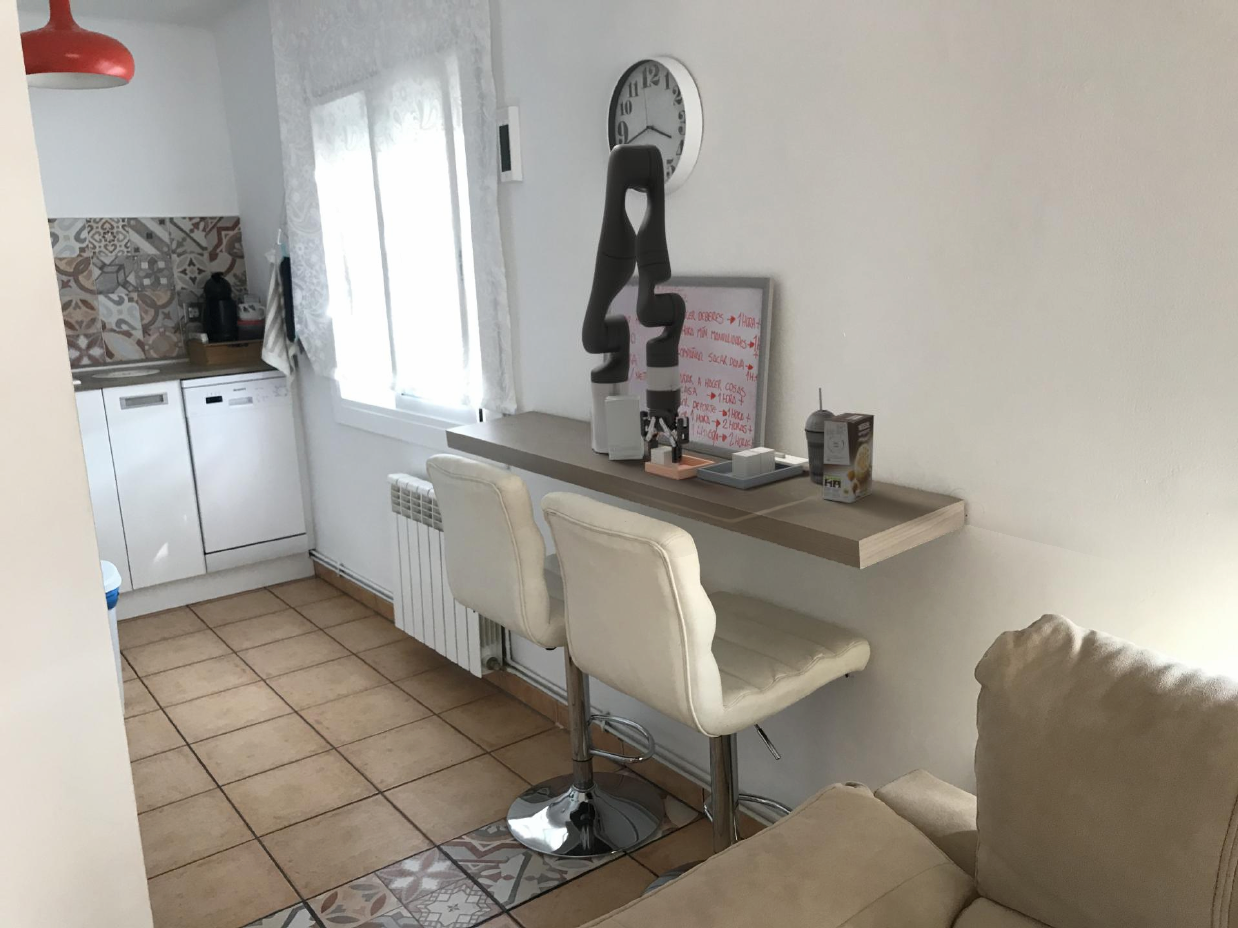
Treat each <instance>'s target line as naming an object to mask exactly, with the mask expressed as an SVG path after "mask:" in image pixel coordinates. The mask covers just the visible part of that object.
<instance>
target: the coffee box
mask: <svg viewBox="0 0 1238 928" xmlns="http://www.w3.org/2000/svg"><path fill="white" fill-rule="evenodd" d="M874 419H875V415H874V414H866V413H856V412H855V413H852V412H844V413H840V414H837V415H835V416H834V417H831V418H827V419H824V421H825V424H824V472H823V473H824V475H823V484H822V499H823V500H829V501H830V500H831V501H835V502H842V503H847V504H851V503H854V502H856V501H858V500H861V499H863V498H865V497H866V496H868V495H870V494H872V492H873V490H872V488H873V458H874V454H873V453H874V422H875V420H874Z"/></svg>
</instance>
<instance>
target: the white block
mask: <svg viewBox="0 0 1238 928" xmlns="http://www.w3.org/2000/svg"><path fill="white" fill-rule="evenodd" d="M671 447H672V446H667V445H664V446H658V448H654V449H651V457H650V462H651V463H652V464H656V465H660V466H664V467H668V468H672V469H676V470H678V463H672V448H671Z"/></svg>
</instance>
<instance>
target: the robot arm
mask: <svg viewBox="0 0 1238 928" xmlns="http://www.w3.org/2000/svg"><path fill="white" fill-rule="evenodd" d="M663 160H664V159H663V157H662V153H661V150H660V149H659V147H657V146H656V145H654V144H649V143H625V144H624V143H622V144H620V143H619V144H617V145H615V146H614V147H613V148H612V150H611V151H610V154H609V157H608V163H607V172H606V183H605V184H606V185H605V195H604V197H605V198H604V199H605V200H604V208H603V209H604V210H603V216H602V222H601V228H600V235H599V240H598V245H597V250H596V256H595V257H596V258H595V264H594V271H593V272H594V273H593V278H592V279H593V280H592V285H591V291H590V295H589V299H588V303H587V307H586V310H585V314H584V319H583V323H582V328H581V342H582V346H583V347H582V348H583V349H584V350H585V352H586V353H588V354H591V355H603V354H609V356H608V358H607V359H606V360H605V361H604V362H603V363H601V364H599V365H598V366H596V367H594V368H592V369H591V371H590V389H591V390H590V391H591V411H590V412H589V413H590V437H591V449H593V451H594V452H596V453H601V454H609V447H608V435H607V422H606V410H605V400H606V398H607V396H620V395H630V381H629V380H630V379H629V373H630V365H631V364H630V362H631V360H630V359H631V352H630V351H631V350H630V349H631V331H630V325H629V321H628V319H627V317H626V316H625V315H624V314H621V313H610V314H607V313H608V310H609V308H610V306H611V304H612V303H613V301H614V300H615V298H616V297H617V296H618V294H619V293H620V292H621V291H622V290H623V288H625V286H626V285H627V284H628V283H629V281H630V280H631V278H632V277H633V275H634V274H635V270H636V267H637V271H638V272H637V274H638V290H637V297H636V305H635V307H636V308H635V310H636V311H635V312H636V313H635V314H636V318H637V321H638V322H639V323H640V324H641V325H642V326H643V327H645V328H650V329H651V328H660V327H663V331H662V333H661V334H660V335H657V336H656V337H652V338H650V339H648V340H647V342H646V343H645V359H646V360H645V361H646V362H645V364H646V365H645V367H646V369H645V370H646V371H645V393H646V396H645V397H646V398H645V399H646V400H645V401H646V402H645V404H646V408H647V409H644V410H641V411H640V426H641V436H642V437H643V438H645V439H646V441H647V447H648V450H647V452H648V457H649V458H651V449H654V448H659V440H658V439H659V436H660V434H661V433H663V434H665V436H666V438H667V439H668V440H669V441H670V443H671V444H670V445H671V446H670V447H671V448H672V463H680V462H681V460H682V455H683V445H686V444H687V445H688V444H689V443H690V418H689V416H680V415H679V408H681V405H682V397H681V394H682V393H681V372H680V367H679V366H680V364H679V362H680V360H679V358H680V357H679V346H680V345H679V344H680V340H681V335H682V332H683V328H684V324H685V318H686V315H687V306H686V302H685V300H684V298H683V297H682V296H681V295H680V293H678V292H661V293H655V289H656V288H655V287H656V285H660V284H663V283H666V282H668V281H669V280H671V277H672V267H671V262H670V254H669V250H668V243H667V237H666V235H667V234H666V195H665V170H664V169H665V167H664V161H663ZM637 189H639V190H641V189H642V190H643V189H644V190H645V194H646V207H645V208H646V209H645V212H644V216H643V218H642V221H641V224H640V225H639V228H638V231H637V233H636V231H635V229H634V227H633V224H632V222H631V220H630V219H629V215H628V213H627V210H626V209H627V208H626V196H627V192H628V190H637ZM646 429H647V430H646Z"/></svg>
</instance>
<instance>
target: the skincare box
mask: <svg viewBox="0 0 1238 928" xmlns="http://www.w3.org/2000/svg"><path fill="white" fill-rule="evenodd" d="M605 410H606V422H607V435H608V447H609V453H608V459H609V461H621V460H622V461H624V460H643V458H644V453H645V447H644V446H645V444H644V437H642V436H641V426H640V411H642V402H641V394H640V393H637V394H635V393H634V394H629V395H620V396H607V398H606V400H605Z"/></svg>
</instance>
